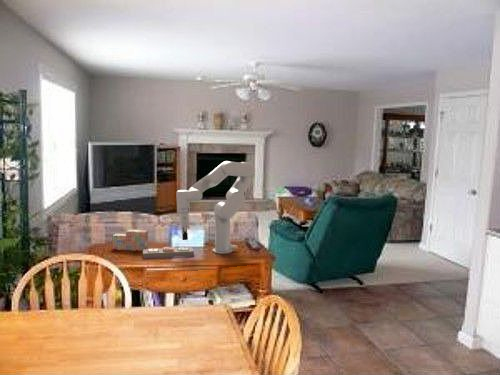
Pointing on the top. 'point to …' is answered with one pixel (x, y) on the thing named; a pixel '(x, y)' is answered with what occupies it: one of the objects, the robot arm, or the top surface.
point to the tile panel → (167, 253)
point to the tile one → (152, 250)
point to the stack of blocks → (131, 240)
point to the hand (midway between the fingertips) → (185, 239)
